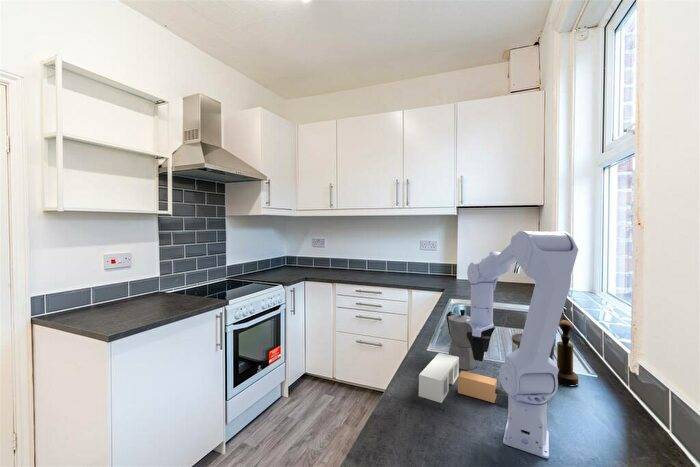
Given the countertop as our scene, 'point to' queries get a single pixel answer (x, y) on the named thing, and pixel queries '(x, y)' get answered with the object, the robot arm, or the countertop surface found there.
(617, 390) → the countertop surface
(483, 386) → the plug
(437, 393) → the white rectangular block
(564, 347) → the wooden pepper mill
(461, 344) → the coffeepot
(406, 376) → the countertop surface
